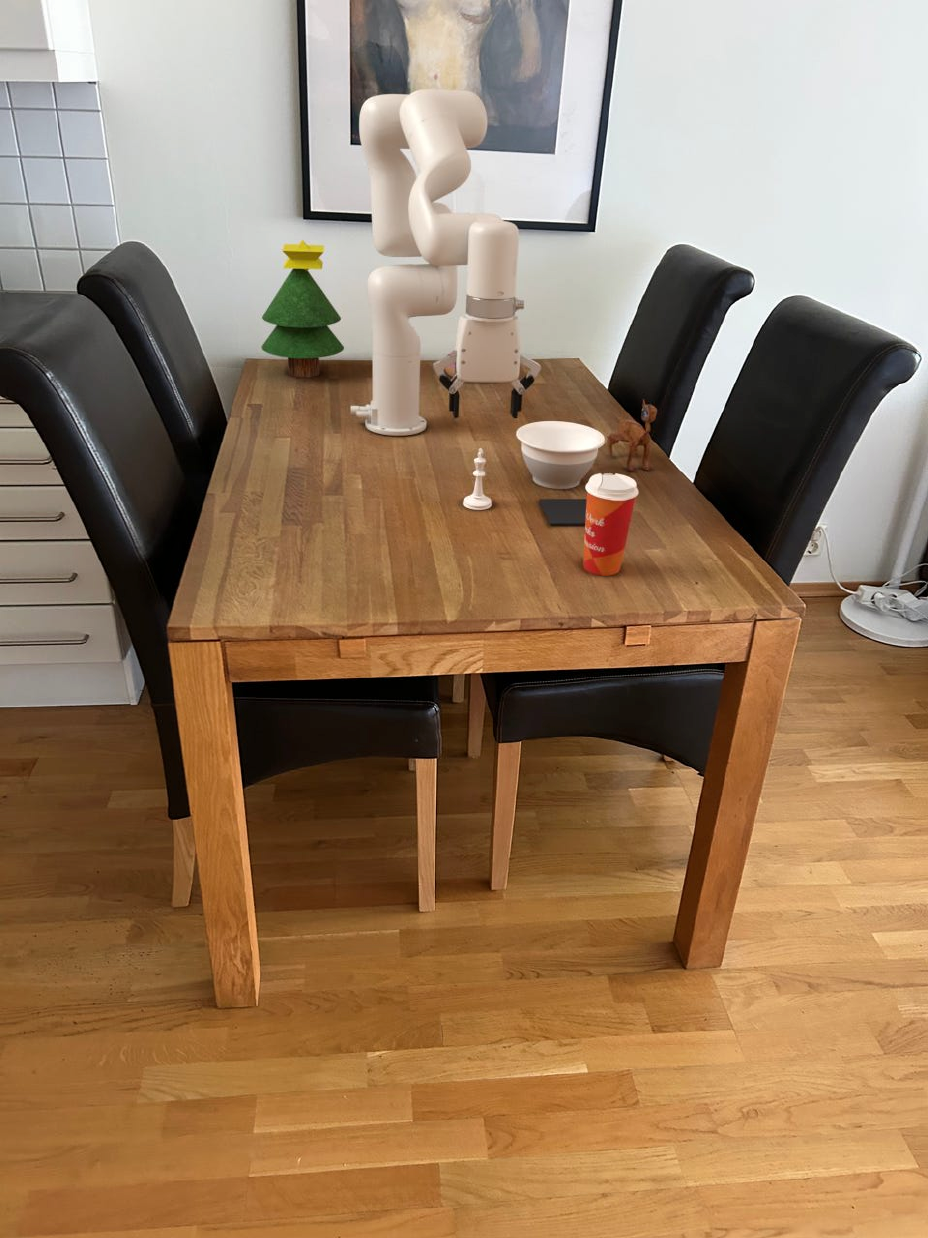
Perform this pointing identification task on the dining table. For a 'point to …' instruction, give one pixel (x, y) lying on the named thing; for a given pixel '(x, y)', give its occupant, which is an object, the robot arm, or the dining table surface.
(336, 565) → the dining table surface
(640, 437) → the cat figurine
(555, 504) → the coaster
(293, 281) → the decorative tree
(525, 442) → the bowl
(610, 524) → the paper cup
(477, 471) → the chess piece
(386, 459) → the dining table surface
